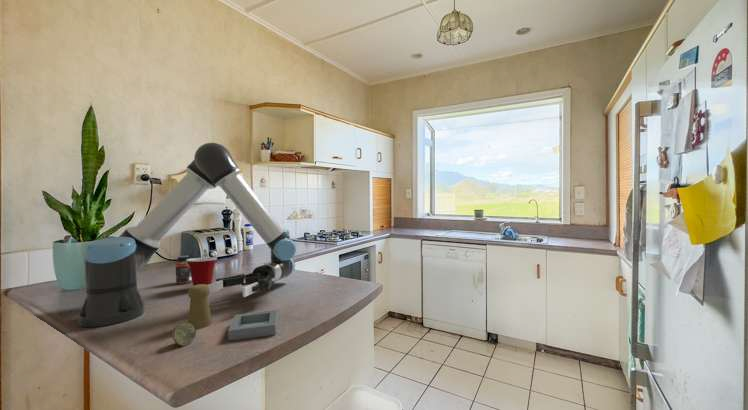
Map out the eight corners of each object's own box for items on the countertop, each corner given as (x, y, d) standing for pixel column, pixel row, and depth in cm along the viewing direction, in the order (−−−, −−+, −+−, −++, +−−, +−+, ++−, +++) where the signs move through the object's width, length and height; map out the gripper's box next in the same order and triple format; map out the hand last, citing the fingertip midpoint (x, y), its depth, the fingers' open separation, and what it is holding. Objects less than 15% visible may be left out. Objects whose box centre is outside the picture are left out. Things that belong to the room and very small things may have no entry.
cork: (194, 321, 88) (192, 282, 88) (216, 319, 89) (214, 281, 88) (182, 329, 82) (181, 288, 82) (206, 328, 83) (205, 287, 82)
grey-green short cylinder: (197, 338, 77) (197, 318, 77) (188, 347, 72) (187, 326, 72) (178, 340, 76) (178, 319, 76) (168, 349, 71) (167, 327, 71)
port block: (228, 340, 75) (228, 330, 75) (235, 323, 85) (235, 314, 85) (275, 334, 78) (275, 324, 78) (277, 318, 88) (276, 310, 88)
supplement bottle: (195, 281, 132) (194, 255, 132) (180, 285, 127) (179, 258, 127) (188, 280, 135) (187, 254, 135) (173, 283, 130) (172, 256, 130)
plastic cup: (224, 284, 127) (223, 255, 127) (206, 292, 116) (205, 260, 116) (200, 284, 129) (199, 255, 128) (180, 291, 118) (179, 260, 118)
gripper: (296, 286, 112) (260, 306, 91) (238, 282, 118) (192, 300, 98) (296, 265, 112) (259, 280, 91) (237, 263, 118) (191, 277, 98)
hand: (224, 291), depth 94 cm, fingers open, 13 cm apart
